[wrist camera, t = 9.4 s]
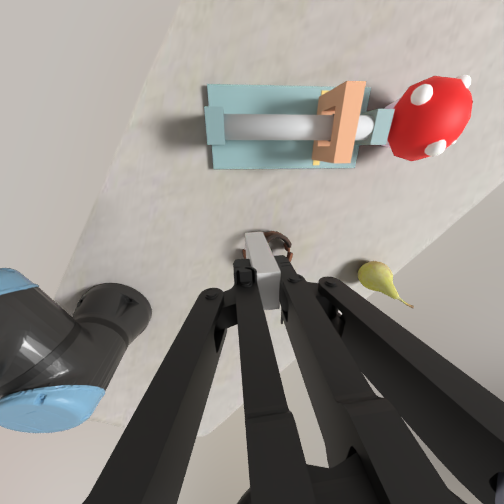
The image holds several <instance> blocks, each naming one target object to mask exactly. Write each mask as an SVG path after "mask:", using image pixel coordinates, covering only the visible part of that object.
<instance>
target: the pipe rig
mask: <svg viewBox="0 0 504 504" xmlns="http://www.w3.org/2000/svg"><path fill="white" fill-rule="evenodd" d="M334 88H335V87H319V86H274V85H228V84H207V89H208V102H209V106H204V110H205V122H206V134H207V145H212V154H213V167H214V169H281V168H355V164H356V160H357V155H358V150H359V145H386V142H387V138H388V134H389V130H390V126H391V122H392V119H393V115H394V111H395V109H375V110H372V111H368V112H366V111H367V106H368V101H369V96H370V91H371V88H365V90H364V96H363V101H362V106H361V111H360V116H359V121H358V127H357V132H356V137H355V142H354V147H353V152H352V158H351V163H328V162H323V161H317V160H312V151H313V143H314V140H327V141H331V135H332V128H333V121H334V115H335V114H332V115H317V108H318V100H319V96H321V95H323V94H325V93H326V92H328V91H330V90H332V89H334Z"/></svg>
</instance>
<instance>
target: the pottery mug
mask: <svg viewBox="0 0 504 504" xmlns="http://www.w3.org/2000/svg"><path fill="white" fill-rule="evenodd" d="M263 234H264V236H265V238H266V240H267V243H269V241H270V240H272V239H274V238H280V239H282V240H283V241H284V242H285V243H284V248H285V250H286V251H288V253H287V258H288V259H289V261H290V262H291V259H292V256H293V253H291V252H290V248H291V245H292V244H291V242H290V241H289V239H288V238H287V237H286V236H284V235H282V234H281V233H279V232H277V231H276V232H275V231H270V232H263ZM243 256H244V259H246V250H244V249H243Z"/></svg>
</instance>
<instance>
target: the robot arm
mask: <svg viewBox="0 0 504 504" xmlns="http://www.w3.org/2000/svg"><path fill="white" fill-rule="evenodd" d="M245 245H246V259H237V260H235V261H234V263H233V267H234V282H235V283H234V286H233V287H232V288H231V289H229V290H227V291H225V292H223V291H222V290H220V289H218V288H209V289H206V290H204V291H202V292H201V293H200V295H199V297H198V298H197V300H196V302H195V304H194V306H193V307H192V309H191V311H190V313H189V315H188V316H187V318H186V320H185V322H184V324H183V326H182V327H181V329H180V331H179V333H178V335H177V336H176V338H175V340H174V342H173V344H172V345H171V347H170V349H169V351H168V353H167V355H166V356H165V358H164V360H163V362H162V364H161V365H160V367H159V369H158V371H157V373H156V374H155V376H154V378H153V380H152V382H151V383H150V385H149V387H148V389H147V391H146V393H145V394H144V396H143V398H142V400H141V402H140V403H139V405H138V407H137V409H136V411H135V412H134V414H133V416H132V418H131V420H130V422H129V423H128V425H127V427H126V429H125V431H124V433H123V434H122V436H121V438H120V440H119V441H118V443H117V445H116V447H115V449H114V451H113V452H112V454H111V456H110V458H109V460H108V461H107V463H106V465H105V467H104V469H103V470H102V472H101V474H100V476H99V478H98V480H97V481H96V483H95V485H94V487H93V489H92V491H91V492H90V494H89V496H88V497H87V498H86V500H85V501H84V502H83V503H82V504H177V501H178V497H179V494H180V491H181V487H182V484H183V480H184V477H185V474H186V470H187V466H188V463H189V460H190V456H191V453H192V450H193V446H194V443H195V439H196V436H197V433H198V429H199V426H200V422H201V419H202V415H203V412H204V409H205V405H206V402H207V398H208V395H209V391H210V388H211V385H212V381H213V378H214V374H215V371H216V368H217V364H218V361H219V357H220V354H221V350H222V347H223V344H224V340H225V337H226V333H227V328H229V327H231V326H234V325H236V324H238V334H239V347H240V360H241V373H242V386H243V399H244V412H245V425H246V439H247V451H248V464H249V478H250V488H249V489H248V490H247V491H246V492H245V494H244V495H243V496H242V497H241V499H240V500H239V502H238V503H237V504H466V503H465V502H464V501H462V500H461V499H460V498H459V497H458V496H456V495H455V494H454V493H453V492H451V491H450V490H449V489H448V488H447V486H446V485H445V483H444V482H443V480H442V479H441V477H440V476H439V474H438V473H437V471H436V469H435V468H434V466H433V465H432V463H431V462H430V460H429V459H428V458H427V456H426V454H425V453H424V451H423V450H422V448H421V447H420V445H419V444H418V442H417V441H416V439H415V437H414V436H413V434H412V433H411V431H410V430H409V428H408V427H407V425H406V424H405V422H406V423H407V424H408V425H409V426H410V427H411V428H412V430H413V431H414V432H415V433H416V434H417V435H418V436H419V437H420V439H421V440H422V441H423V442H424V443H425V444H426V445H427V446H428V448H429V449H430V450H431V451H432V452H433V453H434V454H435V456H436V457H437V458H438V459H439V460H440V461H441V462H442V463H443V464H444V465H445V466H446V467H447V469H448V470H449V471H450V472H451V473H452V474H453V475H454V476H455V477H456V478H457V479H458V480H459V481H460V482H461V483H462V484H463V485H464V486H465V487H466V488H467V489H468V490H469V491H470V492H471V493H472V494H473V495H475V497H476V498H477V499H478V500H479V501H481V502H482V503H483V504H504V402H503V401H501V400H500V399H499V398H498V397H496V396H495V395H493V394H492V393H491V392H490V391H488V390H487V389H485V388H484V387H482V386H481V385H480V384H479V383H477V382H476V381H475V380H473V379H472V378H471V377H469V376H468V375H467V374H465V373H464V372H462V371H461V370H460V369H458V368H457V367H456V366H454V365H453V364H452V363H450V362H449V361H448V360H446V359H445V358H444V357H442V356H441V355H440V354H438V353H437V352H436V351H434V350H433V349H432V348H430V347H429V346H428V345H426V344H425V343H424V342H422V341H421V340H420V339H418V338H417V337H416V336H414V335H413V334H411V333H410V332H409V331H407V330H406V329H405V328H403V327H402V326H401V325H399V324H398V323H396V322H395V321H394V320H393V319H391V318H390V317H389V316H387V315H386V314H384V313H383V312H382V311H380V310H379V309H378V308H376V307H375V306H374V305H372V304H371V303H370V302H368V301H367V300H366V299H364V298H363V297H362V296H360V295H359V294H358V293H356V292H355V291H354V290H352V289H351V288H350V287H348V286H347V285H346V284H344V283H343V282H341V281H340V280H338V279H337V278H333V277H323V278H320V280H319V283H311V282H306V280H305V279H304V278H303V277H302V276H301V275H299V274H297V273H296V272H295V270H294V268H293V266H292V265H291V263H290V261H289V259H288V258H287V257H285V256H284V255H280V256H273V254H272V251H271V249H270V247H269V245H268V243H267V240H266V238H265V236H264V234H263V232H248V233H245ZM280 304H281V324H283V321H284V324H285V326H286V329H287V332H288V335H289V338H290V341H291V344H292V347H293V350H294V353H295V356H296V359H297V362H298V365H299V368H300V371H301V374H302V377H303V380H304V383H305V386H306V389H307V392H308V395H309V397H310V400H311V403H312V406H313V409H314V412H315V415H316V418H317V421H318V424H319V427H320V430H321V433H322V436H323V439H324V442H325V446H326V453H327V460H328V464H329V468H324V467H319V466H313V465H308V464H306V461H305V457H304V454H303V450H302V446H301V442H300V438H299V434H298V431H297V427H296V423H295V420H294V417H293V414H292V412H290V411H289V409H288V406H287V402H286V398H285V394H284V390H283V386H282V382H281V378H280V374H279V369H278V365H277V361H276V357H275V353H274V349H273V345H272V341H271V337H270V333H269V329H268V325H267V321H266V317H265V313H264V310H272V309H279V307H280ZM338 310H339V311H341V312H342V315H341V314H340V313H339V312H338ZM151 315H152V310H151V306H150V304H149V302H148V300H147V299H146V298H145V297H144V296H143V295H142V294H141V293H140V292H138V291H137V290H135V289H133V288H131V287H128V286H125V285H122V284H115V283H106V284H100V285H97V286H95V287H93V288H91V289H90V290H88V291H87V292H86V293H85V294H84V296H83V297H82V298H81V299H80V300H79V302H78V304H77V308H76V310H75V312H74V315H73V317H71V316H70V315H69V314H68V313H67V312H66V311H64V310H63V309H62V308H61V307H60V306H59V305H58V304H57V303H56V302H54V301H53V300H52V299H51V298H50V297H49V296H48V295H47V294H46V293H44V292H43V291H42V290H41V289H40V288H39V285H37V284H34V283H32V282H31V281H30V280H29V279H27V278H26V277H25V276H24V275H22V274H21V273H20V272H18V271H17V270H14V269H11V268H0V426H2V427H4V428H7V429H11V430H15V431H20V432H28V433H52V432H58V431H64V430H68V429H71V428H74V427H76V426H78V425H80V424H82V423H83V422H84V421H86V420H87V419H88V418H89V417H90V416H91V415H92V413H93V411H94V410H95V408H96V406H97V405H98V403H99V402H100V400H101V398H102V397H103V396H104V394H105V391H106V389H107V387H108V385H109V383H110V381H111V379H112V377H113V375H114V373H115V371H116V369H117V367H118V365H119V363H120V361H121V359H122V357H123V355H124V353H125V351H126V349H127V347H128V345H129V344H130V343H131V342H132V341H133V340H134V339H135V338H136V337H137V336H138V335H140V334H141V333H142V332H143V331H144V330H145V328H146V327H147V325H148V323H149V321H150V319H151ZM362 373H363V374H364V375H365V376H366V377H367V379H368V380H369V381H370V382H371V383H372V384H373V385H374V386H375V388H376V389H377V390H378V391H379V392H380V393H381V394H382V395H383V397H384V398H381V397H378V396H377V395H376V394H375V393H374V392H373V390H372V388H371V387H370V385H369V384H368V382H367V380H366V379H365V377H364V375H363V374H362ZM401 417H402V418H403V419H404V420H405V422H404V421H403V419H402V418H401Z"/></svg>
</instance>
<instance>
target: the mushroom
mask: <svg viewBox="0 0 504 504" xmlns="http://www.w3.org/2000/svg"><path fill="white" fill-rule="evenodd" d="M470 84H471V78H470V76H469V75H461V76H458V77H457V78H448V77H440V76H433V77H430V78H428V79H426V80H423V81H421V82H419V83H417V84H414V85H412V86H410V87H409V88H408V89H407V91H406V92H405V93H404V95H403V96H402V97H401V98H400V99H398V100H396V101H395V102H393V103H391V104H389V105H387V106H386V107H385V108H384V109H395V111H394V115H393V119H392V122H391V126H390V130H389V134H388V138H387V142H386V145H382V146H386V147H389V148H391V149H392V152H393V154H394V156H397V157H400V158H403V159H406V160H409V161H415V160H419V159H422V158H426V157H430V156H432V157H433V156H437V155H439V154H441V153H442V152H443V151H444V150H445V149H446V148H447V147H448V146H450V145H452V144H454V143H455V142H456V140H457V138H458V137H459V136H460V134H461V133H462V132H463V130H464V128H465V126H466V125H467V123H468V121H469V119H470V117H471V110H472V103H473V101H472V96H471V93H470V91H469V90H468V87H469V86H470Z"/></svg>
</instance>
